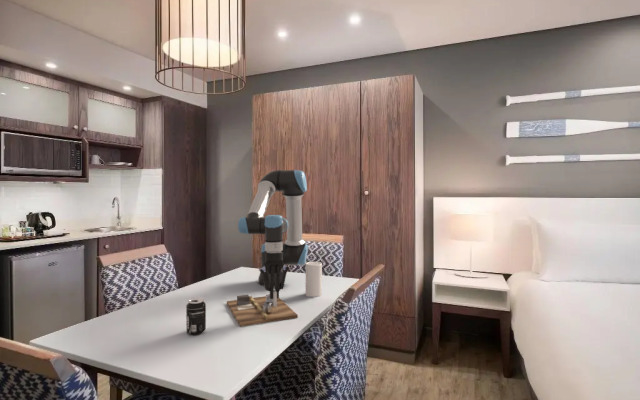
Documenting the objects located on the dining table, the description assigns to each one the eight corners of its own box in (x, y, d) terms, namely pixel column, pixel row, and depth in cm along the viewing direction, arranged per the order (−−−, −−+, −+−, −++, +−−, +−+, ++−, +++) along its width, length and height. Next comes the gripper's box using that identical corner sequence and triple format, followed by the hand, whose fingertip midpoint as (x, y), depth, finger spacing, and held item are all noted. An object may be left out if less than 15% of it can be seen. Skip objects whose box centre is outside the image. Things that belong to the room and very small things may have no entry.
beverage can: (190, 328, 134) (190, 297, 133) (208, 328, 133) (208, 297, 133) (183, 336, 127) (183, 303, 126) (201, 336, 127) (201, 303, 126)
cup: (322, 292, 182) (322, 261, 181) (320, 297, 174) (321, 265, 173) (306, 291, 183) (306, 261, 182) (304, 296, 174) (304, 264, 174)
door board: (226, 303, 163) (226, 292, 163) (276, 297, 173) (276, 287, 173) (239, 326, 136) (239, 313, 136) (297, 317, 146) (297, 305, 146)
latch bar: (267, 299, 162) (267, 292, 162) (276, 299, 162) (276, 292, 162) (261, 311, 145) (261, 304, 145) (271, 311, 145) (271, 304, 145)
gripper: (261, 254, 143) (261, 311, 144) (291, 251, 148) (291, 306, 149) (256, 251, 150) (257, 305, 150) (285, 248, 155) (286, 301, 156)
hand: (274, 305), depth 150 cm, fingers closed
